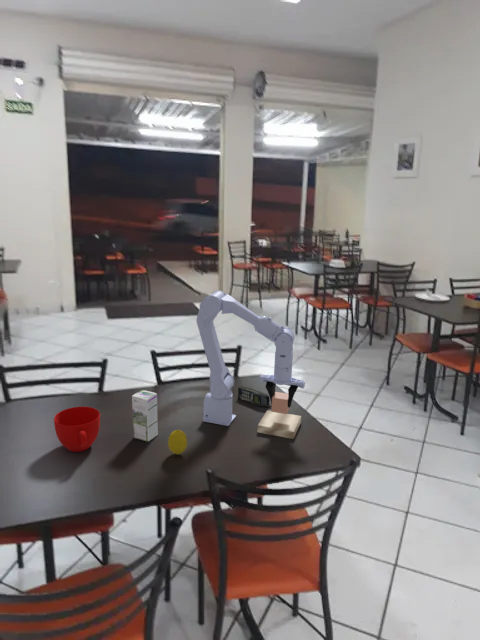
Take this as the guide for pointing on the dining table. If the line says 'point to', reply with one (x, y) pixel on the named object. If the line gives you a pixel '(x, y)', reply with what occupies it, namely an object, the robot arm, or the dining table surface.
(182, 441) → the lemon
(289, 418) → the birch block
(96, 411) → the ceramic cup
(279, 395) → the terracotta cube
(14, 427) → the dining table surface
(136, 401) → the syrup box
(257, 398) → the mobile phone
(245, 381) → the dining table surface
